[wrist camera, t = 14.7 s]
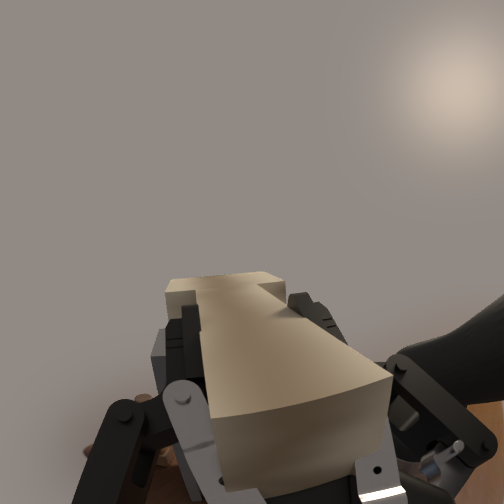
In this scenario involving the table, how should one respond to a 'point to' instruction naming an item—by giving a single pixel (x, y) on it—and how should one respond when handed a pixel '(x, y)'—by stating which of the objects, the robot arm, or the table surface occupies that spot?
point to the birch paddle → (280, 386)
